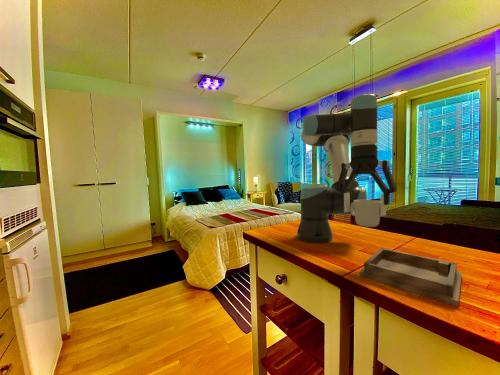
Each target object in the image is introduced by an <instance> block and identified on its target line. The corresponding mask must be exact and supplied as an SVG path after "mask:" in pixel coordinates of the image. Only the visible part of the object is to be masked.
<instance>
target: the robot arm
mask: <svg viewBox="0 0 500 375" xmlns="http://www.w3.org/2000/svg"><path fill="white" fill-rule="evenodd" d="M378 106H379V105H378V98H377V96H376V95H375V94H373V93H363V94H360V95H356V96H354V97H353V98H352V99H351V100H350V106H349V109H350V111H349V112H339V113H337V112H336V113H329V114H328V113H326V114H310V115H306V116H305V115H304V116H303V118H302V130H301V135H300V138H301V140H302V143H304V144H306V145H308V146H311V147H324V149H325V150H326V151H327V152H328V156H329V163H330V169H331V174H332V181H333V183H332V184H331V186H330V187H329V185H328V184H316V185H309V186H305V187H303V188H301V189H300V198H299V200H300V222H299V224H298V228H297V232H296V237H297V239H298V240H300V241H302V242H306V243H307V242H308V243H314V244H315V243H318V244H319V243H328V242H331V241H332V240H334V239H333V232H332V228H331V225H330V223H329V216H330V215H337V216H338V215H339V216H340V215H343V216H344V215H345V216H346V215H347V216H349V215H350V216H352V215H351V213H350V205H351V203H354V200H361V199H365V200H368V194H367V193H368V192H367V189H366V187H364V186H360V184H359V182H358V181H357V180H356V179H357V177H358V176H359V175H369V176H371V177H372V179H373V180H374V182H375V183H376V184H377V186H378V187H379V190H380V191H381V192H382V193H381V194H380V196H379V197H380V198H379V199H380V200H379V201H380V217H385V216H386V215H387V206H388V205H390V203H391V202H390V201H391V200H390V199H391V194H392V193H396V192H397V191H398V188H397V185H396V182H395V180H394V178H393V175H392V172H391V170H390V161H389V160H386V159H383V160H379V159H378V145H377V143H378ZM349 144H350V145H351V147H350V158H349V154H348V150H347V147H348V145H349ZM378 166H379V167H380V168H381V169H382V172H383V175H384V178H385V181H386V183H387V185H386V183H385V182H384V180H383V179H382V178H381V177H380V176H381V175H380V174H379V172H378V171H377V167H378ZM353 210H354V207H353ZM354 213H355V211H354Z"/></svg>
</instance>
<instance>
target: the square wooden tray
mask: <svg viewBox="0 0 500 375" xmlns="http://www.w3.org/2000/svg"><path fill="white" fill-rule="evenodd" d="M457 268H458V267H457V263H456V262H452V261H447V260H442V259H437V258H434V257H433V258H432V257H428V256H422V255H417V254H412V253H410V252H409V253H408V252H403V251H398V250H393V249H388V248H382V247H380V248H379V249H378V250H377V251H376V252H375V253H374V254H372V256H370V257H369V258H368V259H367V260H366V261H365V262H364V263H363V268H361V269H360V270H359V272H358V276H359V277H362V278H365V279H367V280H371V281H375V282H377V283H380V284H384V285H387V286H390V287H393V288H395V289H396V288H397V289H399V290H403V291H406V292H409V293H413V294H415V295H416V294H417V295H420V296H422V297H425V298H428V299H432V300H435V301H439V302H442V303H445V304H448V305H452V306H456V307H458V308H459V304H460V303H459V302H460V294H461V286H462V275H463V274H462V271H459V270H458V271H457Z"/></svg>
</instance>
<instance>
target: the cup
mask: <svg viewBox="0 0 500 375" xmlns="http://www.w3.org/2000/svg"><path fill="white" fill-rule="evenodd" d="M353 207H354V210H353ZM354 211H355V213H354ZM350 213H351V215H350V216H353V217H355V218H354V219H355V223H356V224H357V225H358V226H361V227H367V228H368V227H369V228H374V227H378V226H379V224H380V220H381V216H380V200H378V199H377V200H376V199H367V200H365V199H361V200H354V203H351V205H350Z"/></svg>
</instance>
